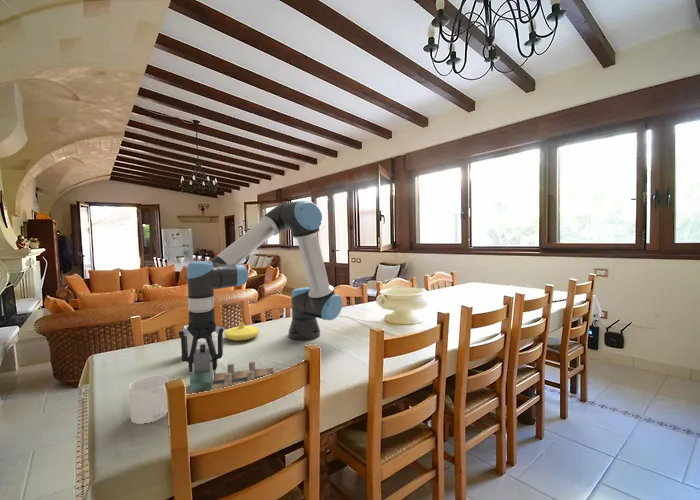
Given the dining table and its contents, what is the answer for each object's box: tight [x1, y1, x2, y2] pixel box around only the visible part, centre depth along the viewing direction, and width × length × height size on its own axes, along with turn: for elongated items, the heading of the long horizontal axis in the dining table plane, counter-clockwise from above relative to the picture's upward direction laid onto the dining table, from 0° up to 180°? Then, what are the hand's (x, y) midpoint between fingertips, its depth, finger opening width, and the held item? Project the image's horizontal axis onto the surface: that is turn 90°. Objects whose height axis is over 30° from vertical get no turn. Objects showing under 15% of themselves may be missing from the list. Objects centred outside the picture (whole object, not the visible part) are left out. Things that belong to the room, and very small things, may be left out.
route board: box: [185, 361, 274, 394], centre depth 108 cm, size 26×14×6 cm, turn 104°
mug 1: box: [128, 374, 169, 425], centre depth 89 cm, size 12×9×9 cm
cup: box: [196, 334, 221, 366], centre depth 125 cm, size 8×12×10 cm
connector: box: [194, 344, 212, 374], centre depth 106 cm, size 4×4×12 cm
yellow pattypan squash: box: [223, 322, 260, 342], centre depth 153 cm, size 16×16×7 cm
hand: (203, 380), depth 106 cm, fingers closed on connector, 4 cm apart
